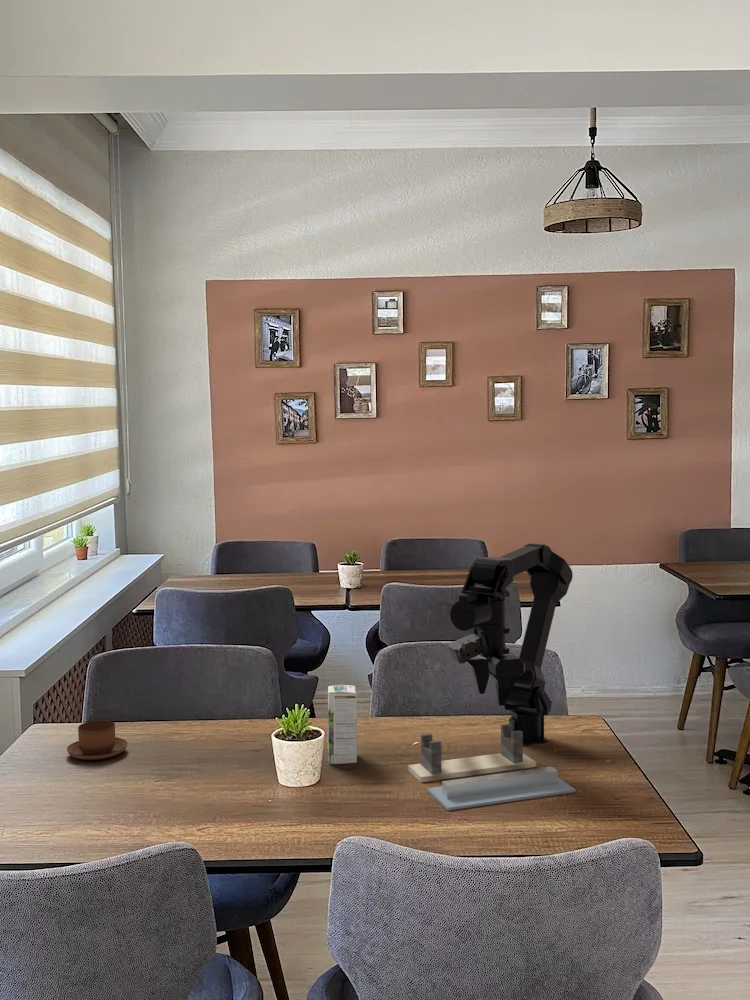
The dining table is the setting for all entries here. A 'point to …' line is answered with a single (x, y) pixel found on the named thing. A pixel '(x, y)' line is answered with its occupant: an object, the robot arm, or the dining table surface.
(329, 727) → the syrup box
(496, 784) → the rail
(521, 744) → the rail stand
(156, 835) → the dining table surface
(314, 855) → the dining table surface
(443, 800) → the mat
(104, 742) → the cup and saucer
